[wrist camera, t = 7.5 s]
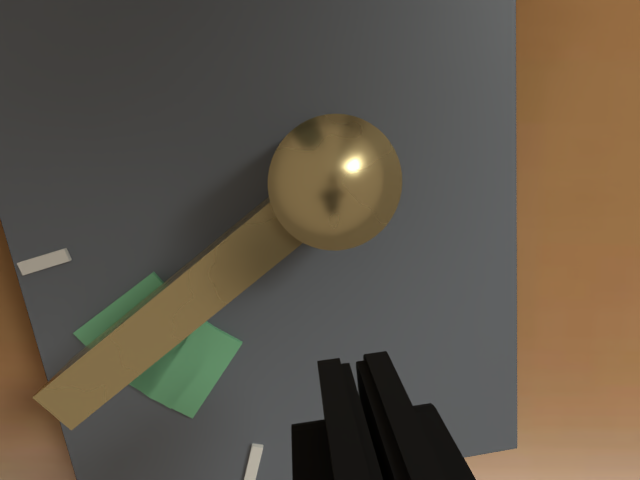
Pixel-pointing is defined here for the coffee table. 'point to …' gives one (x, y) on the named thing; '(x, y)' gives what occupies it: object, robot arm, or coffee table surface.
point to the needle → (245, 254)
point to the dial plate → (248, 192)
